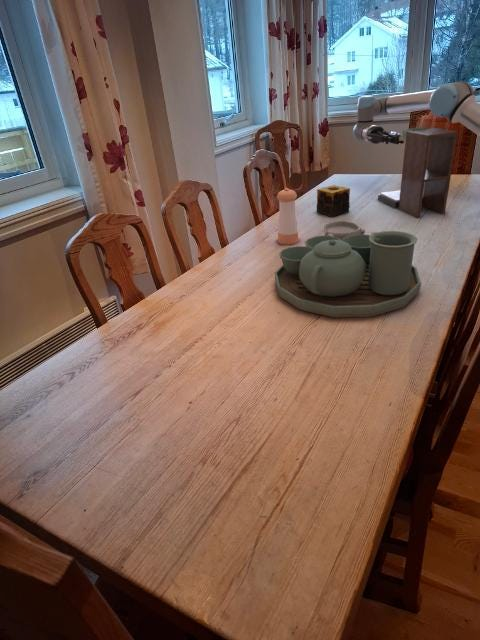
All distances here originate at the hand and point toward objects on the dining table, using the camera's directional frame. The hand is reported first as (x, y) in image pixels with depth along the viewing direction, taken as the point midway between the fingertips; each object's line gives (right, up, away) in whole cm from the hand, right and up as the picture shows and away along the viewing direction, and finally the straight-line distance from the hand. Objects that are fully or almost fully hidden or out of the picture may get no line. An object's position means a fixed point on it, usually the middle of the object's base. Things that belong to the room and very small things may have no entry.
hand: (400, 140), depth 180 cm
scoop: (+1, -1, -3) cm, 3 cm away
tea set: (-38, -66, -57) cm, 95 cm away
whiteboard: (+3, -24, +8) cm, 25 cm away
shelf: (+6, -31, -5) cm, 32 cm away
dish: (-31, -47, -26) cm, 61 cm away
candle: (-28, -30, +3) cm, 41 cm away
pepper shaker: (-50, -47, -22) cm, 72 cm away
